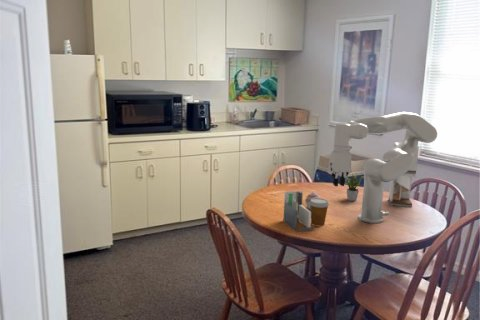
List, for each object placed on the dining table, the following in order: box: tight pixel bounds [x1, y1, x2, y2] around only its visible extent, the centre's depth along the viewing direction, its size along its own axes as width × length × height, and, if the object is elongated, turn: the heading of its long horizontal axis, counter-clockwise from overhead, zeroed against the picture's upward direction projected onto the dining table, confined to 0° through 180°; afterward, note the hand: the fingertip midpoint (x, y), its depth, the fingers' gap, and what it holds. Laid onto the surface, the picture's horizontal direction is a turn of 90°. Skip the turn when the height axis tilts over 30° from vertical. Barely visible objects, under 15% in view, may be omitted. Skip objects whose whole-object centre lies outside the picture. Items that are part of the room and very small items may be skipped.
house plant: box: [344, 173, 364, 202], centre depth 240 cm, size 14×14×16 cm
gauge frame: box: [282, 190, 314, 232], centre depth 197 cm, size 10×15×15 cm, turn 16°
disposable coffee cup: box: [309, 197, 330, 227], centre depth 200 cm, size 10×10×12 cm
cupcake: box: [304, 190, 321, 211], centre depth 223 cm, size 9×9×10 cm
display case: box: [388, 141, 420, 208], centre depth 234 cm, size 11×11×35 cm
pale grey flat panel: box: [297, 192, 312, 228], centre depth 198 cm, size 1×13×14 cm, turn 16°
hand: (338, 185), depth 200 cm, fingers open, 2 cm apart
